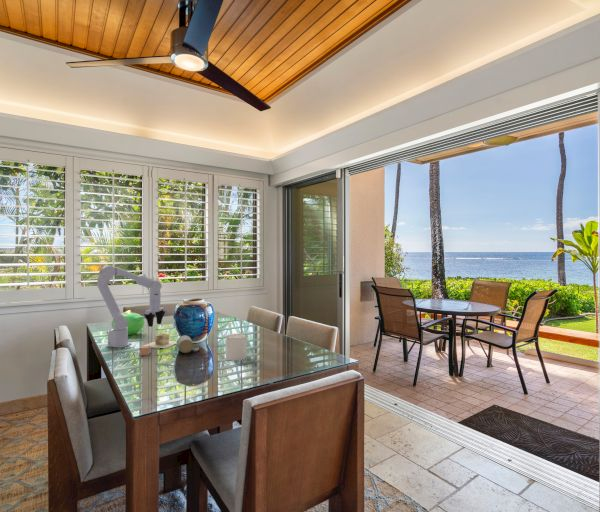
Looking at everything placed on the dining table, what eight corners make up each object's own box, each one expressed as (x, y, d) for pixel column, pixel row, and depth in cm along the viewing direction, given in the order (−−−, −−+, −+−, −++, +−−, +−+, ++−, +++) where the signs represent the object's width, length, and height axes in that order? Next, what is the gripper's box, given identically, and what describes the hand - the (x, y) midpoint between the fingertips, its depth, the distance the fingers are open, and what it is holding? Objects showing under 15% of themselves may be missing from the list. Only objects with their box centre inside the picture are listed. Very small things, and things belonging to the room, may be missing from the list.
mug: (224, 353, 184) (224, 332, 183) (245, 352, 186) (245, 331, 186) (226, 361, 170) (226, 338, 170) (247, 360, 173) (248, 337, 173)
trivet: (142, 347, 194) (142, 345, 194) (158, 340, 208) (158, 339, 208) (165, 348, 191) (165, 347, 191) (180, 342, 205) (180, 341, 205)
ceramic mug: (178, 354, 181) (179, 339, 181) (176, 350, 188) (176, 335, 188) (200, 352, 186) (200, 337, 186) (197, 348, 193) (197, 334, 193)
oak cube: (155, 344, 198) (155, 335, 198) (160, 342, 203) (161, 333, 202) (163, 345, 196) (163, 335, 196) (168, 342, 201) (168, 333, 201)
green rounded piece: (142, 330, 234) (142, 308, 234) (146, 336, 220) (146, 311, 220) (110, 333, 225) (110, 310, 225) (112, 339, 211) (112, 314, 211)
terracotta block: (139, 356, 178) (139, 347, 178) (142, 353, 182) (142, 345, 182) (148, 355, 178) (148, 347, 178) (150, 353, 182) (150, 345, 182)
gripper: (153, 303, 198) (152, 328, 198) (168, 300, 212) (168, 323, 212) (141, 302, 200) (141, 327, 200) (158, 299, 214) (158, 322, 214)
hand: (154, 325), depth 206 cm, fingers open, 7 cm apart
